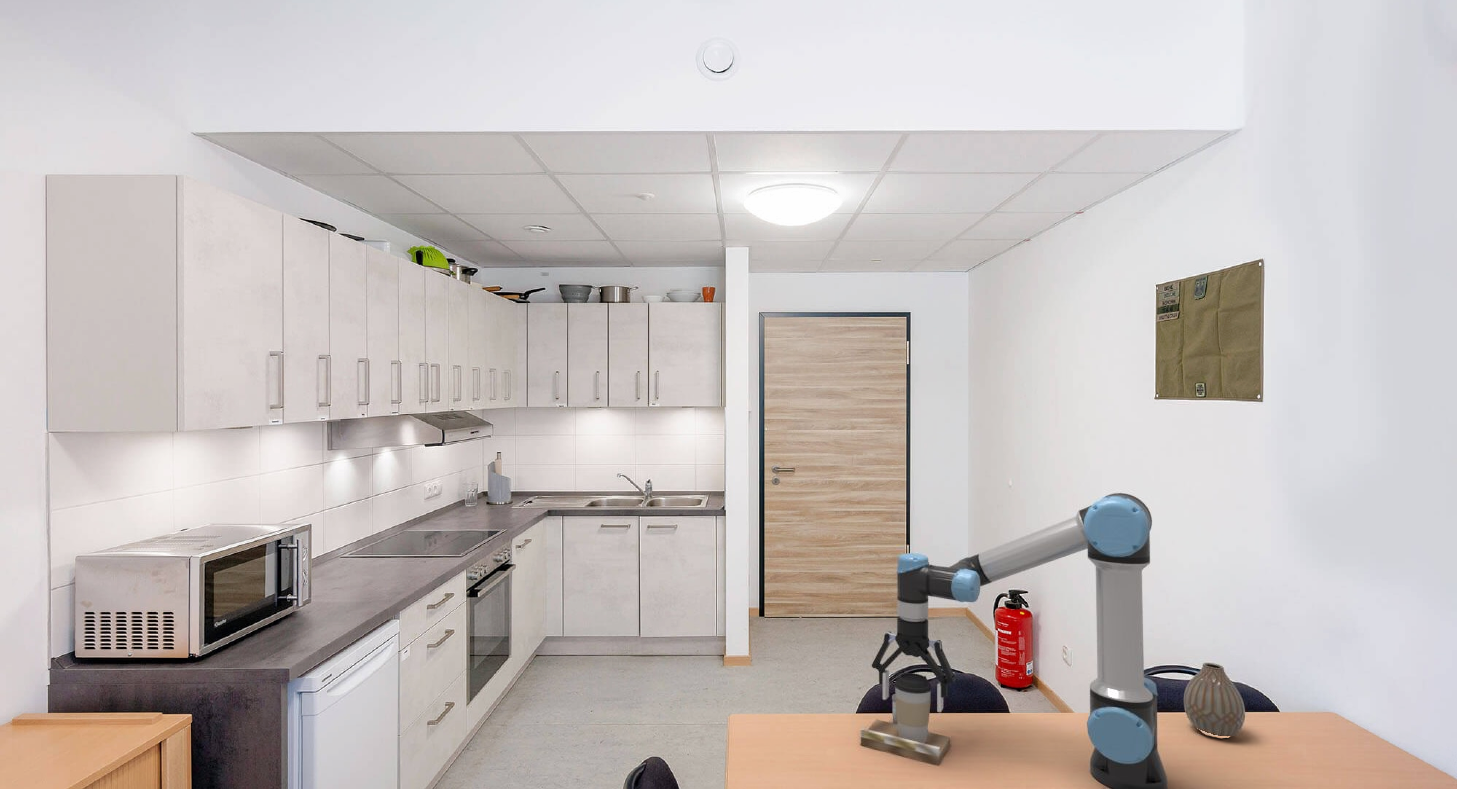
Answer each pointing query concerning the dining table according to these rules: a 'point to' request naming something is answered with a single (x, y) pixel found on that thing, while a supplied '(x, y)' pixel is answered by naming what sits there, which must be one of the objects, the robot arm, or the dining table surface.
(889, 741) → the small brown box
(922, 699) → the coffee cup
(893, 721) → the tea tin
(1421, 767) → the dining table surface
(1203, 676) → the vase
